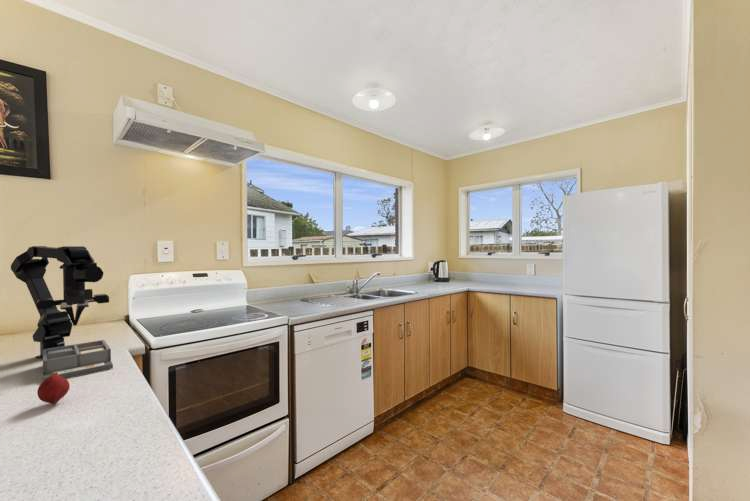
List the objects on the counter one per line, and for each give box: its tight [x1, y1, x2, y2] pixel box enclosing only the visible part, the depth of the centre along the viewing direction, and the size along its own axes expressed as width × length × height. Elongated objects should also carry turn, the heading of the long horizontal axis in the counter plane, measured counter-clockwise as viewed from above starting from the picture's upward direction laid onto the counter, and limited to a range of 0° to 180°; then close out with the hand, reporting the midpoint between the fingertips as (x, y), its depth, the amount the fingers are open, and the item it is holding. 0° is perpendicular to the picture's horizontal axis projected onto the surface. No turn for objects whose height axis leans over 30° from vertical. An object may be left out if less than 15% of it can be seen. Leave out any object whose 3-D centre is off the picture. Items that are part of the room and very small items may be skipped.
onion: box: [36, 372, 70, 405], centre depth 84 cm, size 6×6×8 cm
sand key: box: [80, 348, 104, 354], centre depth 111 cm, size 6×6×2 cm
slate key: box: [48, 348, 73, 354], centre depth 111 cm, size 6×6×2 cm
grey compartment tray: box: [42, 339, 114, 381], centre depth 109 cm, size 20×16×6 cm
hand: (75, 325), depth 117 cm, fingers closed
